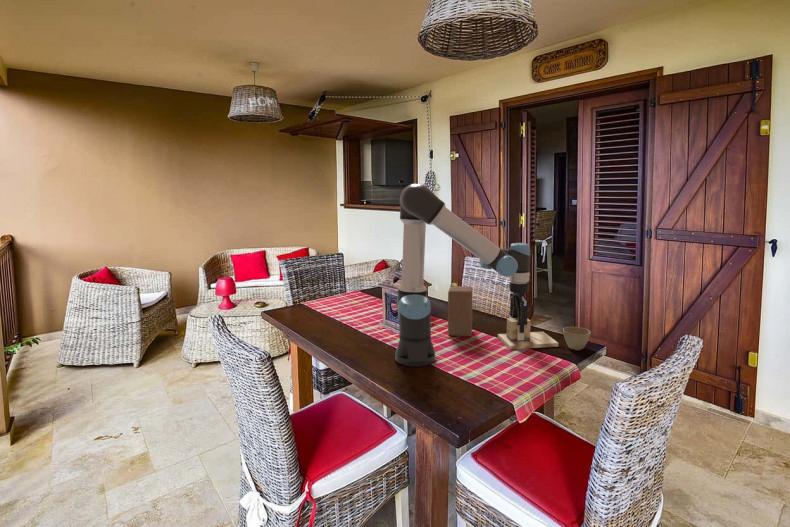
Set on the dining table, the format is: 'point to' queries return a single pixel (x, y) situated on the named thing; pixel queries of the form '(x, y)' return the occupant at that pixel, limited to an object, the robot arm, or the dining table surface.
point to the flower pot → (576, 337)
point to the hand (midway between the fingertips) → (517, 337)
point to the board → (530, 341)
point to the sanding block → (513, 329)
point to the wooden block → (460, 311)
